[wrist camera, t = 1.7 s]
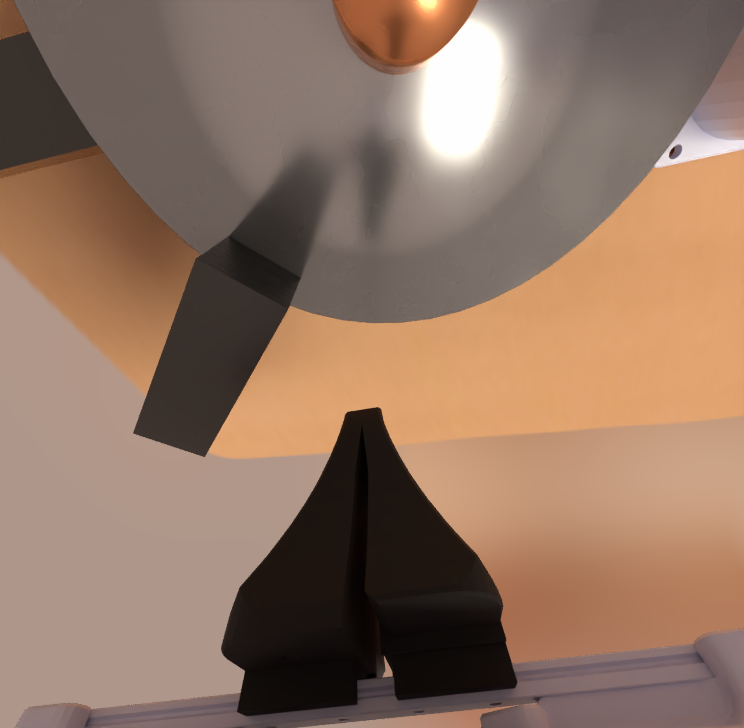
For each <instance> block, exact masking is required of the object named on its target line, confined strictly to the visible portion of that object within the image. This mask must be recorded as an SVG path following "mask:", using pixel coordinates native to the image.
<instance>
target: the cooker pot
mask: <svg viewBox="0 0 744 728" xmlns="http://www.w3.org/2000/svg"><path fill="white" fill-rule="evenodd" d="M102 152H103V151H102V149H101V148H100V147H99V146H98V144H97V143H96V142H95V140H94V139H93V138H92V136H91V135H90V134H89V132H88V131H87V129H86V128H85V126H84V125H83V123H82V121H81V120H80V118H79V117H78V115H77V113H76V112H75V110H74V109H73V107H72V106H71V104H70V102H69V101H68V99H67V98H66V96H65V95H64V93H63V91H62V90H61V88H60V87H59V85H58V83H57V82H56V80H55V79H54V77H53V75H52V74H51V72H50V70H49V68H48V66H47V64H46V62H45V60H44V58H43V57H42V55H41V53H40V51H39V49H38V47H37V45H36V43H35V41H34V40H33V38H32V36H31V34H30V32H26V33H23V34H19V35H16V36H12V37H9V38H5V39H2V40H0V178H3V177H7V176H11V175H15V174H19V173H23V172H27V171H31V170H35V169H39V168H43V167H47V166H51V165H55V164H59V163H63V162H67V161H71V160H75V159H79V158H83V157H87V156H91V155H95V154H98V153H102Z"/></svg>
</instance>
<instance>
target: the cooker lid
mask: <svg viewBox="0 0 744 728" xmlns="http://www.w3.org/2000/svg"><path fill="white" fill-rule="evenodd" d="M14 2H15V5H16V7H17V9H18V11H19V13H20V15H21V17H22V19H23V21H24V23H25V24H26V26H27V28H28V30H29V32H30V34H31V36H32V38H33V40H34V41H35V43H36V45H37V47H38V49H39V51H40V53H41V55H42V57H43V58H44V60H45V62H46V64H47V66H48V68H49V70H50V72H51V74H52V75H53V77H54V79H55V80H56V82H57V83H58V85H59V87H60V88H61V90H62V91H63V93H64V95H65V96H66V98H67V99H68V101H69V102H70V104H71V106H72V107H73V109H74V110H75V112H76V113H77V115H78V117H79V118H80V120H81V121H82V123H83V125H84V126H85V128H86V129H87V131H88V132H89V134H90V135H91V136H92V138H93V139H94V140H95V142H96V143H97V144H98V146H99V147H100V148H101V149H102V151H103V152H104V153H105V155H106V156H107V157H108V159H109V160H110V161H111V163H112V164H113V165H114V167H115V168H116V169H117V171H118V172H119V173H120V175H121V176H122V177H123V178H124V179H125V181H126V182H127V183H128V184H129V185H130V186H131V187H132V188H133V190H134V191H135V192H136V193H137V194H138V195H139V196H140V197H141V198H142V200H143V201H144V202H145V203H146V204H147V205H148V206H149V207H150V208H151V210H152V211H153V212H154V213H155V214H156V215H157V216H158V217H159V218H160V219H161V220H162V221H164V222H165V223H166V224H167V225H168V226H169V227H170V228H171V229H172V230H173V231H174V232H175V233H176V234H178V235H179V236H180V237H181V238H182V239H183V240H184V241H185V242H186V243H187V244H188V245H190V246H191V247H192V248H194V249H195V250H196V251H197V252H199V253H200V254H201V256H199V257H198V258H196V260H195V263H194V265H193V268H192V271H191V274H190V276H189V279H188V282H187V285H186V288H185V290H184V293H183V296H182V299H181V302H180V304H179V307H178V310H177V313H176V315H175V318H174V321H173V324H172V327H171V329H170V332H169V335H168V338H167V340H166V343H165V346H164V349H163V352H162V354H161V357H160V360H159V363H158V365H157V368H156V371H155V374H154V377H153V379H152V382H151V385H150V388H149V390H148V393H147V396H146V399H145V402H144V404H143V407H142V410H141V413H140V415H139V419H138V421H137V424H136V427H135V430H134V432H133V433H134V434H137V435H140V436H143V437H146V438H149V439H152V440H155V441H158V442H161V443H164V444H167V445H170V446H173V447H176V448H179V449H182V450H185V451H188V452H191V453H194V454H197V455H200V456H203V457H205V455H206V454H207V452H208V450H209V448H210V447H211V445H212V443H213V441H214V440H215V438H216V436H217V434H218V433H219V431H220V429H221V427H222V425H223V424H224V422H225V420H226V418H227V417H228V415H229V413H230V411H231V409H232V408H233V406H234V404H235V402H236V401H237V399H238V397H239V395H240V394H241V392H242V390H243V388H244V386H245V385H246V383H247V381H248V379H249V378H250V376H251V374H252V372H253V371H254V369H255V367H256V365H257V363H258V362H259V360H260V358H261V356H262V355H263V353H264V351H265V349H266V348H267V346H268V344H269V342H270V340H271V339H272V337H273V335H274V333H275V332H276V330H277V328H278V326H279V325H280V323H281V321H282V319H283V317H284V316H285V314H286V312H287V310H288V308H289V306H293V307H296V308H298V309H301V310H304V311H307V312H310V313H313V314H317V315H322V316H327V317H331V318H336V319H340V320H347V321H357V322H367V323H402V322H410V321H417V320H425V319H432V318H436V317H440V316H444V315H447V314H451V313H455V312H459V311H462V310H465V309H468V308H470V307H473V306H476V305H478V304H481V303H484V302H486V301H489V300H491V299H493V298H495V297H497V296H499V295H501V294H503V293H505V292H507V291H509V290H511V289H513V288H515V287H517V286H519V285H521V284H523V283H524V282H526V281H527V280H529V279H531V278H532V277H534V276H535V275H537V274H539V273H540V272H542V271H543V270H545V269H546V268H548V267H550V266H551V265H552V264H554V263H555V262H556V261H558V260H559V259H560V258H561V257H563V256H564V255H565V254H567V253H568V252H569V251H570V250H572V249H573V248H574V247H576V246H577V245H578V244H579V243H581V242H582V241H583V240H584V239H585V238H586V237H587V236H588V235H590V234H591V233H592V232H593V231H594V230H595V229H596V228H597V227H598V226H599V225H600V224H601V223H602V222H604V221H605V220H606V219H607V218H608V217H609V216H610V215H611V214H612V213H613V212H614V211H615V210H616V209H617V208H618V207H619V206H620V205H621V203H622V202H623V201H624V200H625V199H626V198H627V197H628V196H629V195H630V194H631V192H632V191H633V190H634V189H635V188H636V187H637V186H638V185H639V184H640V183H641V181H642V180H643V179H644V178H645V177H646V176H647V174H648V173H649V172H650V171H651V169H652V168H653V167H654V165H655V164H656V163H657V162H658V160H659V159H660V158H661V156H662V155H663V154H664V152H665V151H666V150H667V149H668V147H669V146H670V145H671V143H672V142H673V141H674V140H675V138H676V137H677V136H678V134H679V133H680V131H681V130H682V128H683V127H684V125H685V124H686V122H687V121H688V119H689V118H690V116H691V115H692V113H693V112H694V110H695V109H696V107H697V106H698V104H699V103H700V101H701V99H702V98H703V96H704V95H705V93H706V92H707V90H708V89H709V87H710V86H711V84H712V83H713V81H714V79H715V77H716V75H717V74H718V72H719V70H720V68H721V66H722V65H723V63H724V61H725V59H726V58H727V56H728V54H729V52H730V50H731V49H732V47H733V45H734V43H735V42H736V40H737V38H738V36H739V34H740V33H741V31H742V29H743V27H744V0H14Z"/></svg>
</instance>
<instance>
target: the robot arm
mask: <svg viewBox="0 0 744 728" xmlns="http://www.w3.org/2000/svg"><path fill="white" fill-rule="evenodd" d="M673 147H675V150H674V152H673V154H672V155H671V156H670V157H669V153H670V151H671V149H672V148H673ZM743 149H744V27H743V29H742V31H741V33H740V34H739V36H738V38H737V40H736V42H735V43H734V45H733V47H732V49H731V50H730V52H729V54H728V56H727V58H726V59H725V61H724V63H723V65H722V66H721V68H720V70H719V72H718V74H717V75H716V77H715V79H714V81H713V83H712V84H711V86H710V87H709V89H708V90H707V92H706V93H705V95H704V96H703V98H702V99H701V101H700V103H699V104H698V106H697V107H696V109H695V110H694V112H693V113H692V115H691V116H690V118H689V119H688V121H687V122H686V124H685V125H684V127H683V128H682V130H681V131H680V133H679V134H678V136H677V137H676V138H675V140H674V141H673V142H672V143H671V145H670V146H669V147H668V149H667V150H666V151H665V152H664V154H663V155H662V156H661V158H660V159H659V160H658V162H657V163H656V164H655V165H654V167H653V168H661V167H665V166H670V165H674V164H679V163H684V162H688V161H693V160H697V159H702V158H707V157H711V156H716V155H720V154H725V153H730V152H734V151H739V150H743ZM502 610H503V603H502V599H501V596H500V594H499V592H498V590H497V587H496V586H495V584H494V582H493V580H492V578H491V576H490V575H489V573H488V571H487V570H486V568H485V567H484V565H483V563H482V562H481V560H480V559H479V557H478V555H477V554H476V553H475V552H474V551H473V550H472V549H471V548H470V547H469V546H468V545H467V544H466V543H465V542H464V541H463V540H462V539H461V537H460V536H459V535H458V534H457V533H456V532H455V531H454V530H453V529H452V527H451V526H450V525H449V524H448V523H447V522H446V521H445V519H444V518H443V517H442V516H441V515H440V513H439V512H438V511H437V510H436V508H435V507H434V506H433V505H432V503H431V502H430V501H429V500H428V498H427V497H426V496H425V494H424V493H423V492H422V490H421V489H420V488H419V486H418V485H417V483H416V482H415V480H414V479H413V477H412V476H411V474H410V473H409V471H408V469H407V468H406V466H405V464H404V463H403V461H402V459H401V458H400V456H399V454H398V452H397V450H396V448H395V446H394V444H393V442H392V440H391V438H390V436H389V434H388V431H387V429H386V426H385V424H384V421H383V416H382V411H381V409H380V408H378V407H376V408H370V409H363V410H357V411H350V412H347V413H346V414H345V418H344V421H343V425H342V428H341V431H340V433H339V436H338V439H337V441H336V444H335V446H334V448H333V451H332V453H331V456H330V458H329V460H328V462H327V464H326V466H325V468H324V470H323V472H322V474H321V477H320V478H319V480H318V482H317V484H316V486H315V488H314V489H313V491H312V493H311V494H310V496H309V498H308V500H307V501H306V503H305V504H304V506H303V507H302V509H301V510H300V512H299V513H298V515H297V516H296V518H295V519H294V521H293V522H292V524H291V525H290V527H289V528H288V529H287V531H286V532H285V533H284V535H283V536H282V537H281V538H280V540H279V541H278V543H277V544H276V545H275V546H274V548H273V549H272V550H271V552H270V553H269V554H268V555H267V557H266V558H265V559H264V560H263V561H262V562H261V564H260V565H259V566H258V567H257V568H256V569H255V571H254V572H253V573H252V574H251V575H250V576H249V577H248V579H247V580H246V581H245V582H244V583H243V584H242V585H241V586H240V588H239V591H238V593H237V596H236V599H235V602H234V605H233V607H232V610H231V613H230V616H229V620H228V624H227V628H226V631H225V635H224V639H223V643H222V647H221V650H222V653H223V655H224V656H225V657H226V658H227V659H228V660H230V661H231V662H232V663H234V664H236V665H237V666H239V667H240V668H242V669H243V670H245V674H244V680H243V684H242V689H241V693H237V694H227V695H218V696H209V697H201V698H190V699H181V700H173V701H164V702H154V703H144V704H135V705H126V706H117V707H108V708H99V709H91V708H90V707H88V706H86V705H82V704H77V703H60V704H52V705H43V706H33V707H29V708H28V709H26V710H25V711H24V713H23V714H22V716H21V717H20V719H19V721H18V723H17V724H16V726H15V728H297V727H307V726H317V725H326V724H336V723H346V722H356V721H366V720H376V719H385V718H395V717H404V716H415V715H425V714H435V713H444V712H454V711H464V710H473V709H483V708H494V707H503V706H513V705H519V706H514V707H510V708H506V709H502V710H497V711H493V712H489V713H485V714H482V716H481V718H480V720H481V725H482V727H481V728H744V628H738V629H729V630H721V631H714V632H710V633H707V634H703V635H701V636H699V637H698V638H697V639H696V640H695V641H694V644H687V645H677V646H668V647H659V648H650V649H641V650H632V651H622V652H612V653H604V654H594V655H585V656H576V657H567V658H557V659H548V660H539V661H530V662H521V663H511V659H510V656H509V653H508V649H507V646H506V643H505V642H506V637H505V633H504V630H503V627H502V624H501V614H502ZM384 656H385V658H386V660H387V662H388V664H389V666H390V668H391V670H392V672H393V676H392V677H383V678H382V676H383V674H384V672H385V662H384ZM533 703H537V704H533ZM523 704H527V705H523Z"/></svg>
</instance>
